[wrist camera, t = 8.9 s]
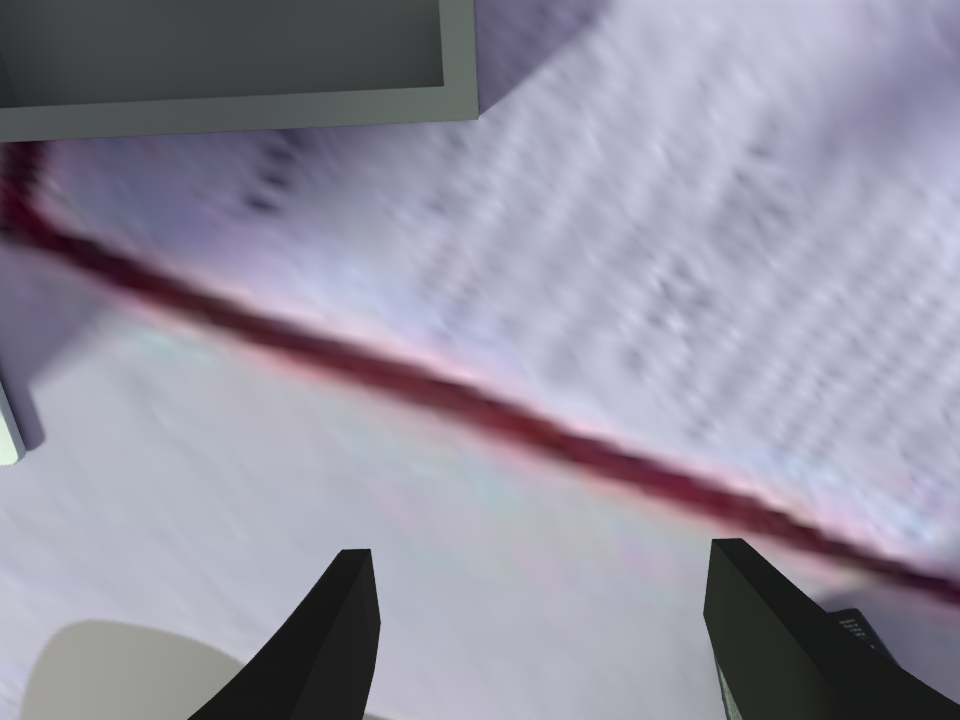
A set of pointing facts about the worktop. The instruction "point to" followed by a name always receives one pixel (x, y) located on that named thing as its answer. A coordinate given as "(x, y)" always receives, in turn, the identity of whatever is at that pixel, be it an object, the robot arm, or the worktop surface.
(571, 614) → the worktop surface
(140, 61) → the tray
